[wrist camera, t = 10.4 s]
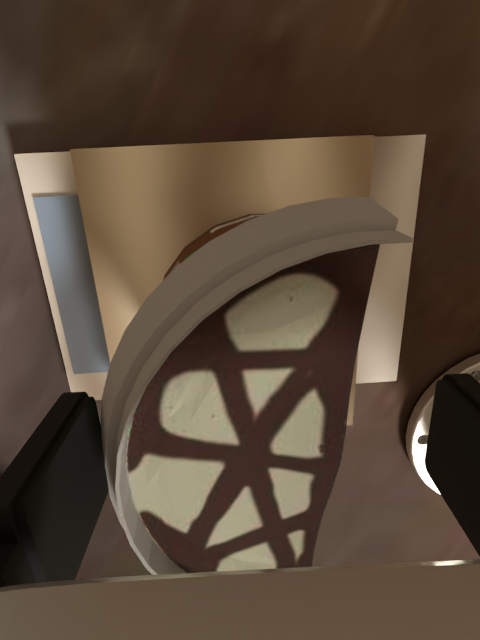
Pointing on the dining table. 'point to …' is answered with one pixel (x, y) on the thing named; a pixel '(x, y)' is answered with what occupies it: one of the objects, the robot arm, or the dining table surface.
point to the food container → (241, 388)
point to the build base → (201, 228)
